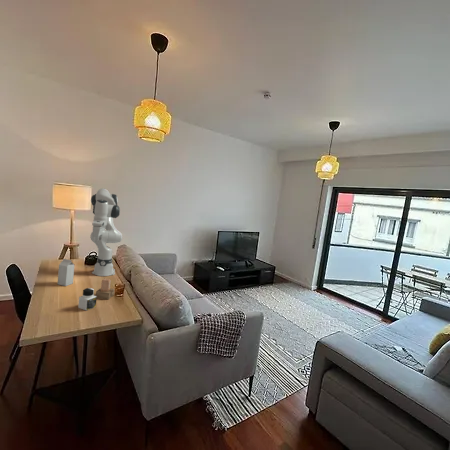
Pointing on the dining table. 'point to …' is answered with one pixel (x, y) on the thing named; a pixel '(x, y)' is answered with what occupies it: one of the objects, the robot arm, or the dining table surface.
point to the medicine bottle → (87, 299)
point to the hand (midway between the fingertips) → (98, 240)
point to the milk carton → (65, 272)
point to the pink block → (105, 285)
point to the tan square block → (105, 294)
